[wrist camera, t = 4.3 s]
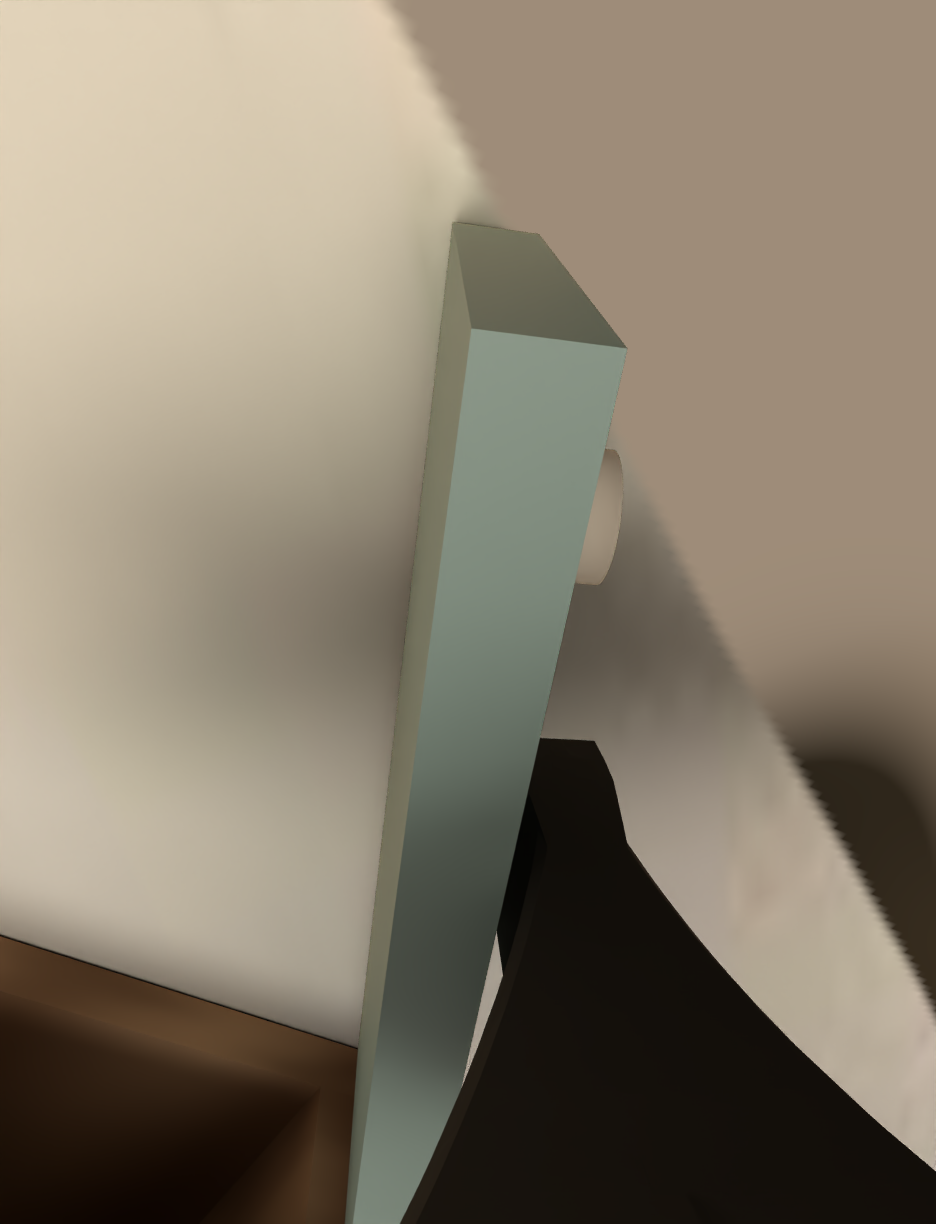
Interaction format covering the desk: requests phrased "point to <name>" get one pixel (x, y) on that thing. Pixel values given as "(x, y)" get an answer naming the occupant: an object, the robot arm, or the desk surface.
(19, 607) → the desk surface
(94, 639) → the desk surface
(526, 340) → the cabinet door
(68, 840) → the desk surface
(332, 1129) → the walnut cabinet
